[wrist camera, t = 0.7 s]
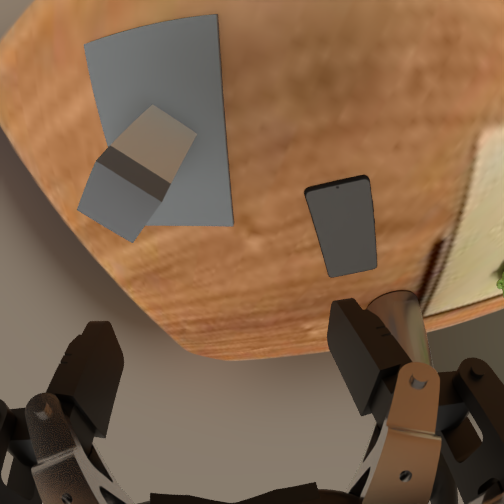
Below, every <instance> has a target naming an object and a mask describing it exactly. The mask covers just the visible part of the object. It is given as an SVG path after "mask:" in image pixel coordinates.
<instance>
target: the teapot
mask: <svg viewBox="0 0 504 504" xmlns="http://www.w3.org/2000/svg"><path fill="white" fill-rule="evenodd" d="M500 284H501V285H500ZM497 287H498V288H499V289H502V290H503V296H504V272H503V274H502V279H500V280H499V281H498V282H497Z"/></svg>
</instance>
